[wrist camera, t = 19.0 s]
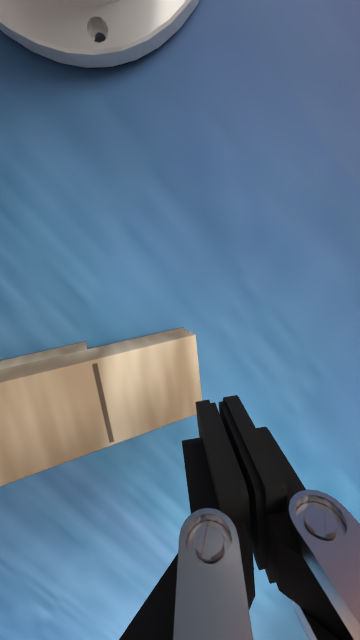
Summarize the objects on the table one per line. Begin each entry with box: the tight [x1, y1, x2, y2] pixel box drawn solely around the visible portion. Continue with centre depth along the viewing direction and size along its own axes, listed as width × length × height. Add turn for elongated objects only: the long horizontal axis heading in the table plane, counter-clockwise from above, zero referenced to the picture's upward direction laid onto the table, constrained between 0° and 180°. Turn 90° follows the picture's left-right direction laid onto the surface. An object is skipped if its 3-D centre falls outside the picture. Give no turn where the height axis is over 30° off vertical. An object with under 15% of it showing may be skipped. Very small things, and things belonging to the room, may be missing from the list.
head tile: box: [0, 327, 202, 486], centre depth 14 cm, size 2×5×11 cm
